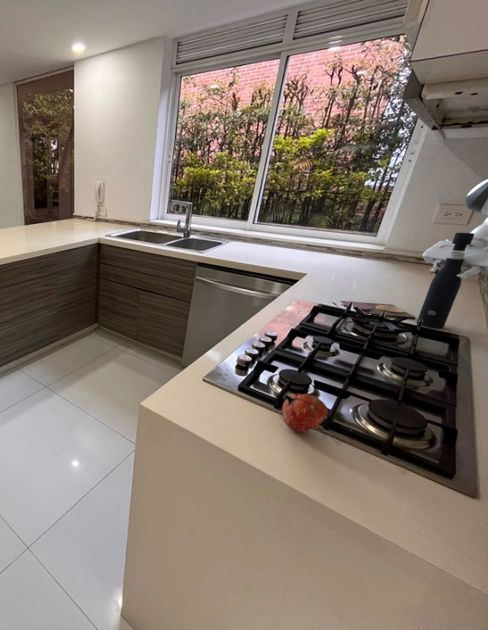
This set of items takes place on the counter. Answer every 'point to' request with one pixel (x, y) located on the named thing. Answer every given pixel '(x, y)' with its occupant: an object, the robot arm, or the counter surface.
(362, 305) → the plum plate
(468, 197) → the robot arm
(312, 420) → the pomegranate
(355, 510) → the counter surface
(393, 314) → the placemat
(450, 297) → the dark water bottle
